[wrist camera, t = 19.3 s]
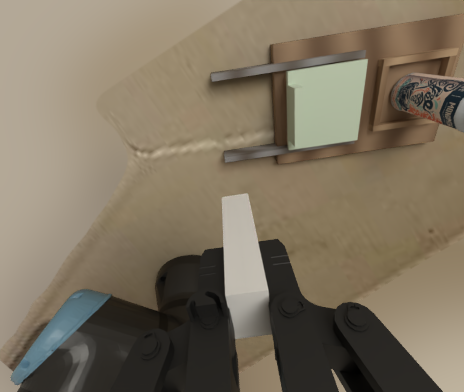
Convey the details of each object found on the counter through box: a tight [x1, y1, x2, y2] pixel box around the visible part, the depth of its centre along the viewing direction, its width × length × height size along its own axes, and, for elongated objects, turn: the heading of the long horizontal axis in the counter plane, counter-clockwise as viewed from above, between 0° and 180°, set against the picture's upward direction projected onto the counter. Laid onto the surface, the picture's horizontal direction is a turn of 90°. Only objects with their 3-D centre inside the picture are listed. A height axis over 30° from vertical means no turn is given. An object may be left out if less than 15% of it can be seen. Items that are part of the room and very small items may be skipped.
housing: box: [211, 14, 464, 164], centre depth 34 cm, size 32×16×3 cm, turn 98°
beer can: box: [391, 73, 464, 132], centre depth 28 cm, size 5×5×12 cm
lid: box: [286, 59, 368, 150], centre depth 31 cm, size 10×10×4 cm
